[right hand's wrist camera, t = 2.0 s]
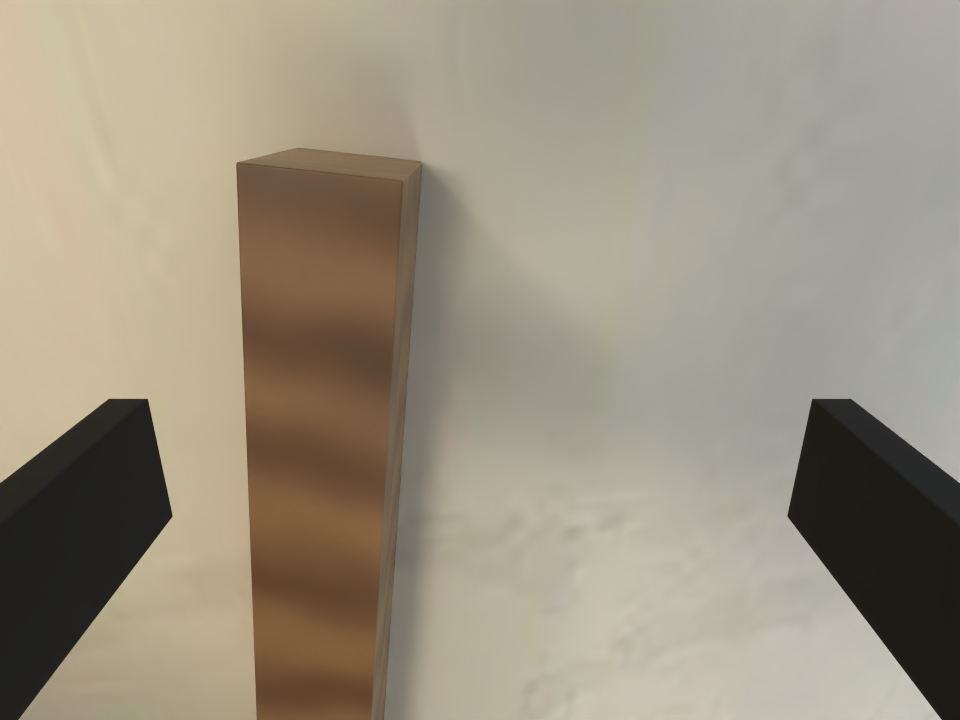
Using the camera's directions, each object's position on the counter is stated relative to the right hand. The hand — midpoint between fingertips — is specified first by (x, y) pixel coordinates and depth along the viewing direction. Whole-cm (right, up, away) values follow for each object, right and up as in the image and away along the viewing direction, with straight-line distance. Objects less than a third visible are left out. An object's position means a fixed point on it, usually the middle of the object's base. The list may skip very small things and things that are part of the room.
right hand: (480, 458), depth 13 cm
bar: (-8, -15, +25) cm, 31 cm away
